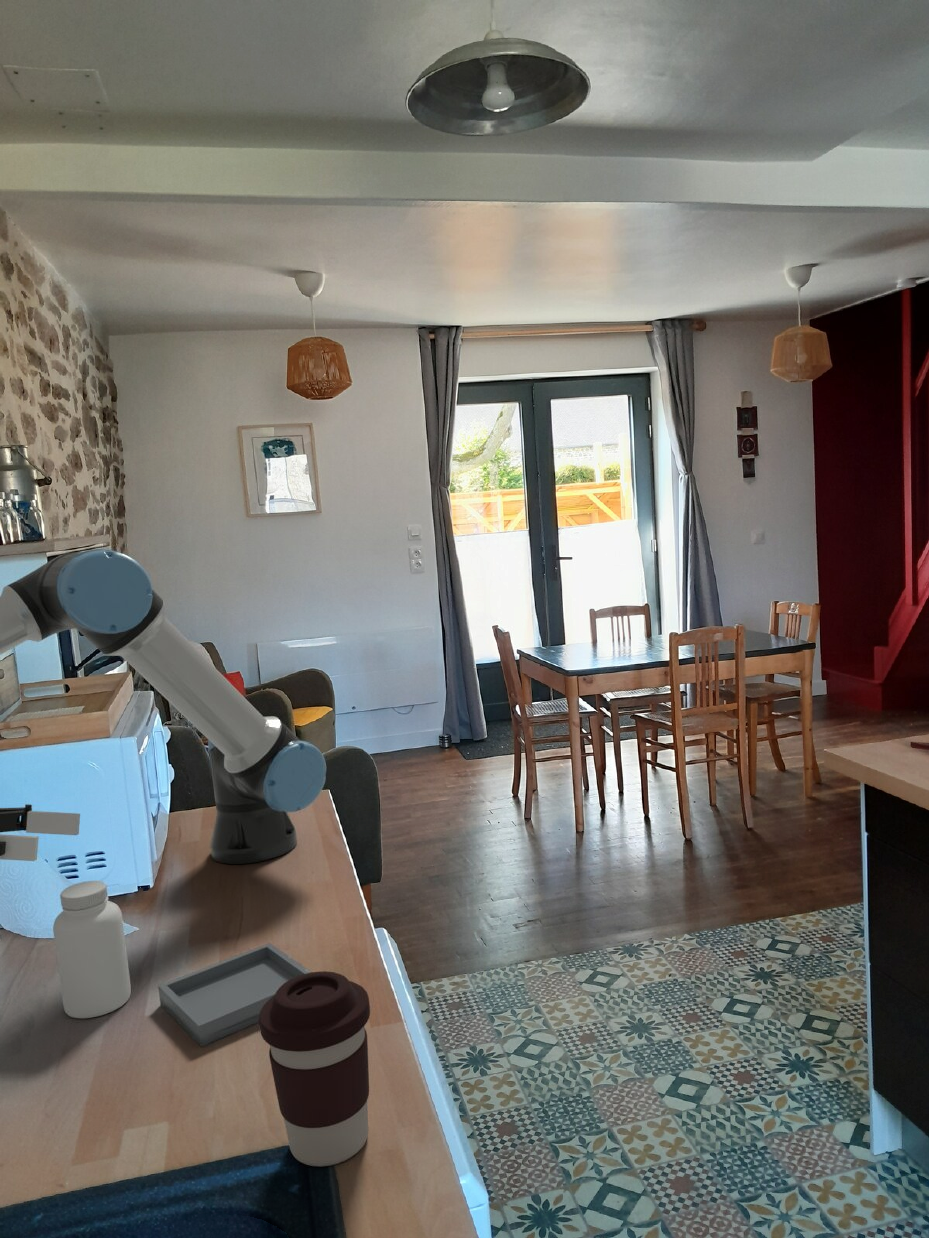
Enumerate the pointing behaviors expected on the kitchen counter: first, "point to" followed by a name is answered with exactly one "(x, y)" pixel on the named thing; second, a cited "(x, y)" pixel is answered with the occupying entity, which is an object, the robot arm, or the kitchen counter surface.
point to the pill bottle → (91, 951)
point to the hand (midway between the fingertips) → (59, 835)
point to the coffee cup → (320, 1064)
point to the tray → (227, 992)
